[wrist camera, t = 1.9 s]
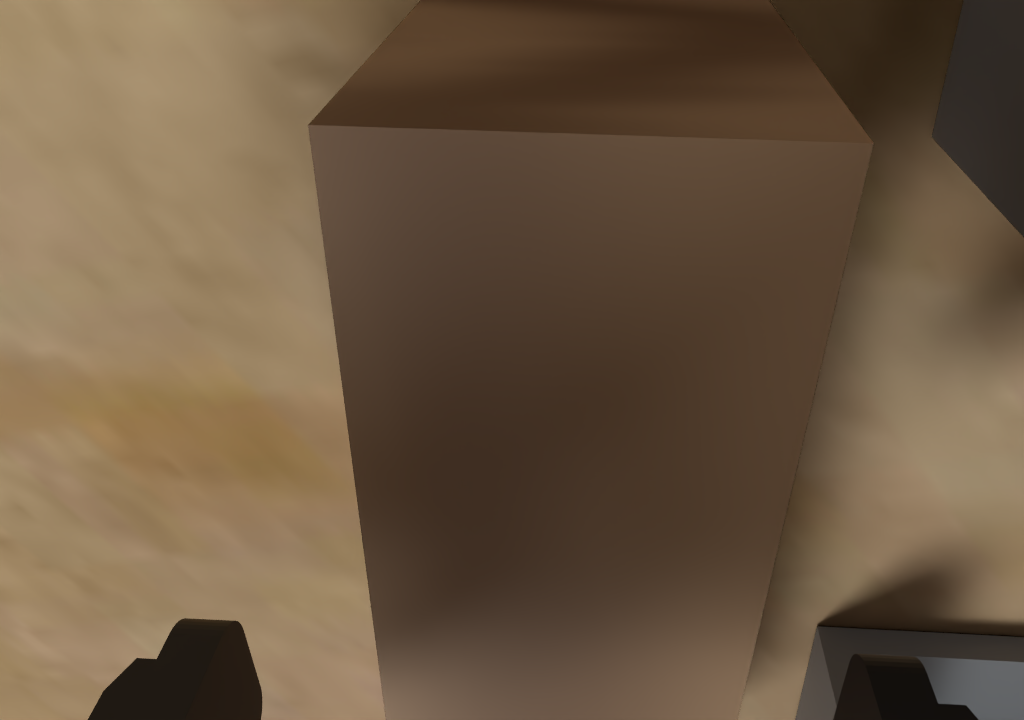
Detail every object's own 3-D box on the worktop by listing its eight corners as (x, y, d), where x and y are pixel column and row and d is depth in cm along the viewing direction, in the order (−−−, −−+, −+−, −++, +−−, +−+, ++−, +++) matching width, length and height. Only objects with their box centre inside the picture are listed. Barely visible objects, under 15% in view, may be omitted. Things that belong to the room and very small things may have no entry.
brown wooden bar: (758, -15, 11) (875, 143, 6) (649, 727, 20) (662, 1038, 15) (438, -20, 12) (307, 124, 7) (469, 712, 20) (423, 1010, 15)
